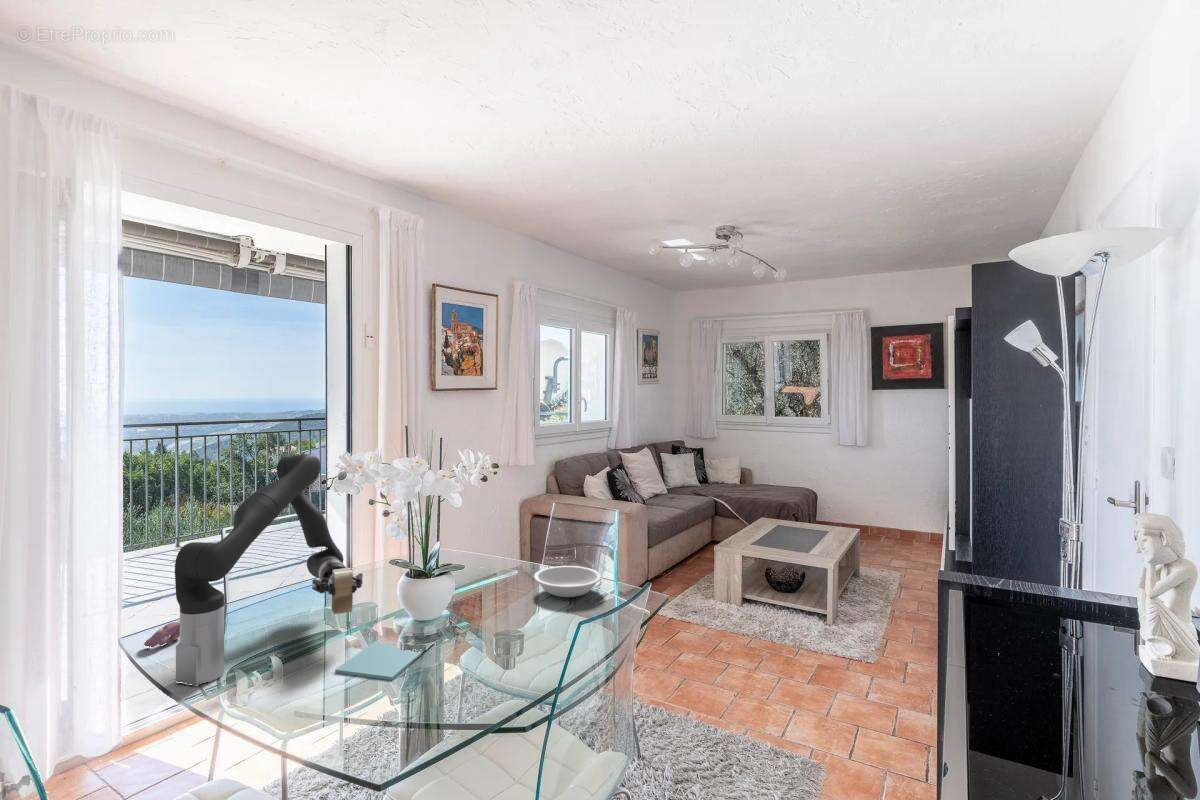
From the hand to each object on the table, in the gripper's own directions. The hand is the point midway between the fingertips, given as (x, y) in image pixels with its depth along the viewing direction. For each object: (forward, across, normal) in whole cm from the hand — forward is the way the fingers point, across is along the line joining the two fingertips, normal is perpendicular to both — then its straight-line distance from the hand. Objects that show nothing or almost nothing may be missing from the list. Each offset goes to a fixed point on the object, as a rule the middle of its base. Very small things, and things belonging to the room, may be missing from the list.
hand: (343, 590), depth 165 cm
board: (+10, +10, +16) cm, 22 cm away
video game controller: (-30, -41, +17) cm, 53 cm away
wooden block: (-3, 0, +6) cm, 7 cm away
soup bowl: (-9, +76, +16) cm, 78 cm away
